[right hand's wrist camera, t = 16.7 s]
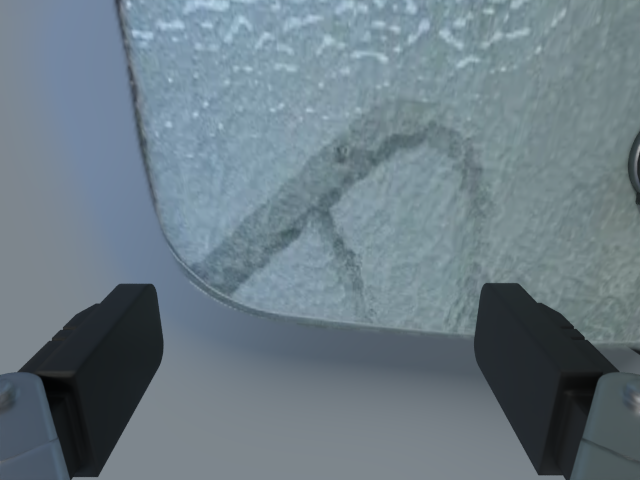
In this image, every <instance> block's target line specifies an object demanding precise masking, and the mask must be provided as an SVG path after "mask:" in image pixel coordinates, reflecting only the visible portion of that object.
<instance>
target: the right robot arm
mask: <svg viewBox="0 0 640 480" xmlns="http://www.w3.org/2000/svg"><path fill="white" fill-rule="evenodd" d="M628 170H629V176H630V180H631V182H632V185H633V186H634V188H635V190H636V191H637V198H636V204H638V205H640V132H639V133H638V135H637V137H636V139H635V141H634V143H633V145H632V148H631V151H630V155H629V162H628ZM628 348H630V349H631V350H633V351H634V352H636V353H637V354H639V355H640V349H639V348H633V347H628ZM474 350H475V357H476V361H477V363H478V366H479V367H480V369H481V371H482V373H483V375H484V377H485V379H486V380H487V382H488V384H489V386H490V388H491V389H492V391H493V393H494V395H495V397H496V399H497V400H498V402H499V404H500V406H501V408H502V409H503V411H504V413H505V415H506V417H507V419H508V420H509V422H510V424H511V426H512V428H513V430H514V431H515V433H516V435H517V437H518V439H519V440H520V442H521V444H522V446H523V448H524V450H525V451H526V453H527V455H528V457H529V459H530V461H531V463H532V464H533V466H534V468H535V470H536V472H537V473H538V475H563V476H564V478H565V479H566V480H640V375H638V374H633V373H626V372H619V371H618V370H617V369H616V368H615V367H614V366H613V365H612V364H611V363H610V362H609V361H608V360H607V359H606V358H605V357H604V356H603V355H602V354H601V353H600V352H599V351H598V350H597V349H596V348H595V347H594V346H593V345H592V344H591V343H590V342H589V341H588V340H585V337H584V336H583V335H582V334H581V333H580V332H579V331H578V330H577V329H574V326H573V325H572V324H571V323H570V322H569V321H568V320H567V319H566V318H565V317H564V316H563V315H562V314H560V313H559V312H557V311H555V310H553V309H551V308H550V307H548V306H546V305H544V304H542V303H537V302H536V301H535V300H534V299H533V298H532V297H531V296H530V295H529V294H528V293H527V292H526V291H525V290H524V289H523V288H522V287H521V286H520V285H519V284H518V283H485V284H484V285H483V287H482V290H481V294H480V302H479V309H478V316H477V323H476V331H475V338H474ZM162 356H163V334H162V327H161V320H160V313H159V306H158V298H157V292H156V289H155V287H154V285H153V284H119V285H118V286H116V288H115V289H114V290H113V291H112V292H111V293H110V294H109V295H108V296H107V297H106V298H105V299H104V300H103V301H102V302H101V303H100V304H94V305H93V306H91V307H89V308H87V309H85V310H83V311H82V312H80V313H78V314H76V315H75V316H74V317H73V318H72V319H71V320H70V321H69V322H68V323H67V324H66V325H65V326H64V327H63V330H60V331H59V332H58V333H57V334H56V335H55V336H54V337H53V338H52V341H49V342H48V343H47V344H46V345H45V346H43V347H42V348H41V349H40V350H39V351H38V352H37V353H36V354H35V355H34V356H33V357H32V358H31V359H30V360H29V361H28V362H27V363H26V364H25V365H24V366H23V367H22V368H21V369H20V370H19V371H18V372H14V373H7V374H2V375H0V480H71V479H72V478H73V477H98V476H99V474H100V472H101V470H102V469H103V467H104V465H105V463H106V461H107V460H108V458H109V456H110V454H111V452H112V451H113V449H114V447H115V445H116V443H117V442H118V440H119V438H120V436H121V434H122V432H123V431H124V429H125V427H126V425H127V424H128V422H129V420H130V418H131V416H132V415H133V413H134V411H135V409H136V407H137V405H138V404H139V402H140V400H141V398H142V396H143V395H144V393H145V391H146V389H147V387H148V386H149V384H150V382H151V380H152V378H153V377H154V375H155V373H156V371H157V369H158V368H159V366H160V363H161V360H162Z"/></svg>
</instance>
